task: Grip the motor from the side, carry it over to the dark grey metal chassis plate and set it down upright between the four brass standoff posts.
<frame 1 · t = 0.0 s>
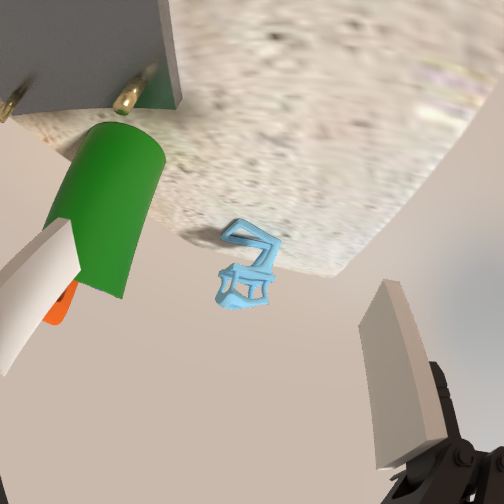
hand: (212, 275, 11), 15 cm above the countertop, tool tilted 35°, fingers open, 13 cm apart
motor: (122, 146, 29), on the countertop
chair: (254, 234, 46), on the countertop
chassis: (49, 17, 12), on the countertop
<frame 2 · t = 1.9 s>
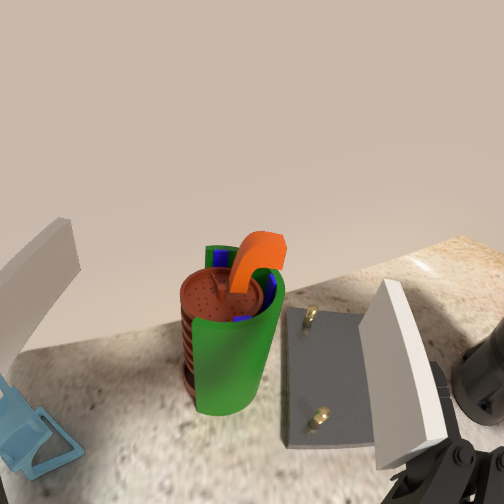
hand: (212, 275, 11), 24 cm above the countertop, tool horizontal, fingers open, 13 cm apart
motor: (220, 378, 33), on the countertop
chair: (43, 451, 19), on the countertop
chassis: (358, 376, 35), on the countertop
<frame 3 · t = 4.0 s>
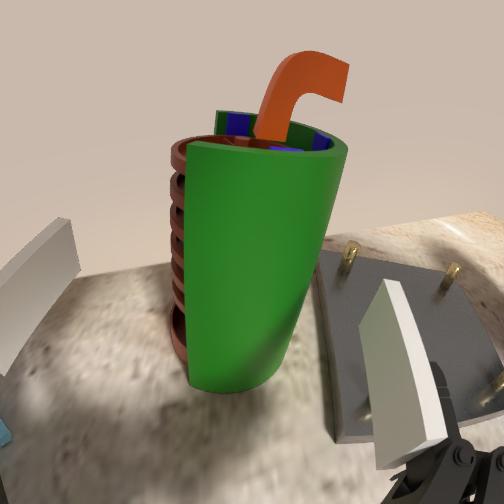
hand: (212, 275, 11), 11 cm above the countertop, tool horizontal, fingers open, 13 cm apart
motor: (228, 337, 22), on the countertop
chassis: (416, 337, 24), on the countertop
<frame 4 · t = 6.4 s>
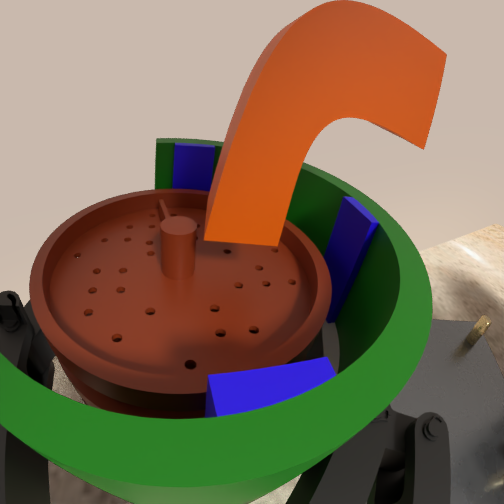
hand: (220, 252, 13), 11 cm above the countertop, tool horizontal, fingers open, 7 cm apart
motor: (197, 445, 15), on the countertop, touching gripper
chassis: (435, 420, 17), on the countertop
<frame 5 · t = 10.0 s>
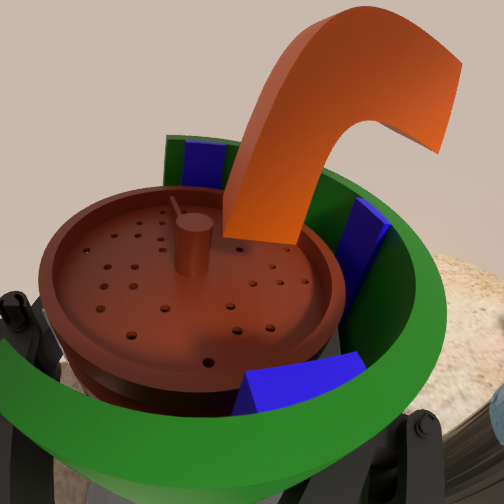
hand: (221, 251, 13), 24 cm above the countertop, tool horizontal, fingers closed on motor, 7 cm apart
motor: (197, 445, 15), point 13 cm above the countertop, touching gripper
chassis: (197, 477, 22), on the countertop
when the fingers open (13 cm above the countertop, at t = 13.2 s): motor drops 1 cm, resting on chassis.
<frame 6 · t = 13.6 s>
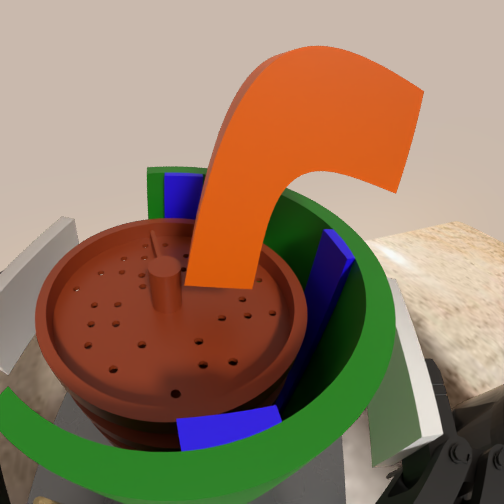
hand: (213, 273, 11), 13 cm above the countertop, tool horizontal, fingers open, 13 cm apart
motor: (198, 450, 15), point 1 cm above the countertop, touching chassis
chassis: (195, 454, 16), on the countertop
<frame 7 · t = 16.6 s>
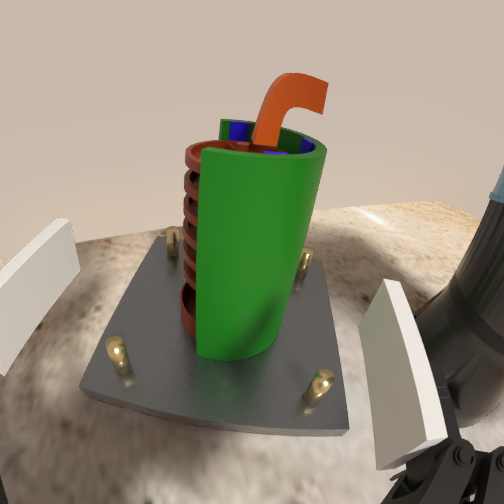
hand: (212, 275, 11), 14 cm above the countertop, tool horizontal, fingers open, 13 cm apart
motor: (230, 315, 26), point 1 cm above the countertop, touching chassis
chassis: (226, 324, 27), on the countertop
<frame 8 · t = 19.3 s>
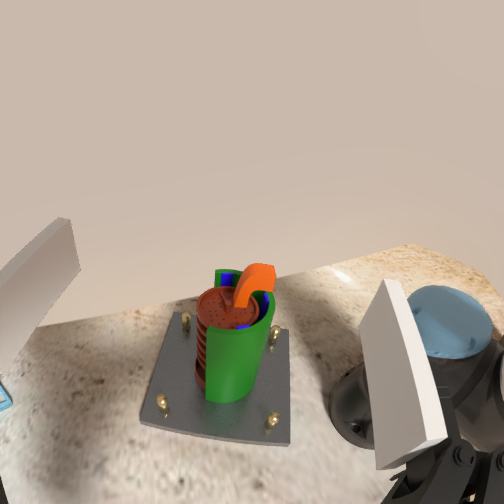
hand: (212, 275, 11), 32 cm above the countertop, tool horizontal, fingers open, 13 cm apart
motor: (225, 373, 41), point 1 cm above the countertop, touching chassis
chassis: (222, 377, 41), on the countertop
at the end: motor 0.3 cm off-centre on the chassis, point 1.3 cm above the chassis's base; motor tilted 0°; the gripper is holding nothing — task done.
